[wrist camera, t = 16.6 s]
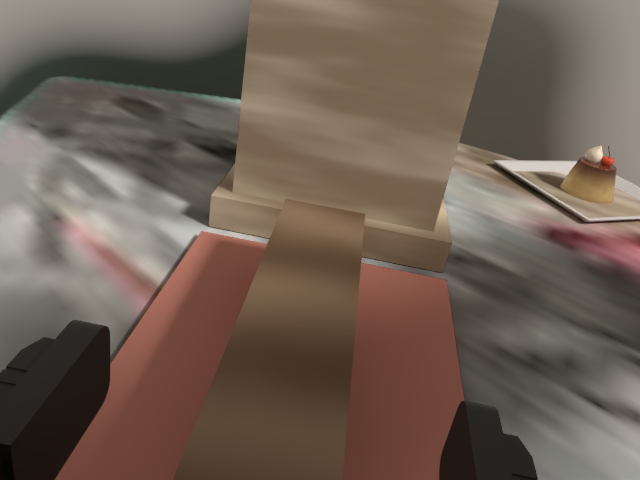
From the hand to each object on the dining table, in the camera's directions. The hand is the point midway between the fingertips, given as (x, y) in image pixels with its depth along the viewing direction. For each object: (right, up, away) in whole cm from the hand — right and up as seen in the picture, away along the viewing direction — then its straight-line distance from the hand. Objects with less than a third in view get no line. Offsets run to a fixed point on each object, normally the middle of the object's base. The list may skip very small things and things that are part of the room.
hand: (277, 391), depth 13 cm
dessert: (+24, +7, +38) cm, 46 cm away
